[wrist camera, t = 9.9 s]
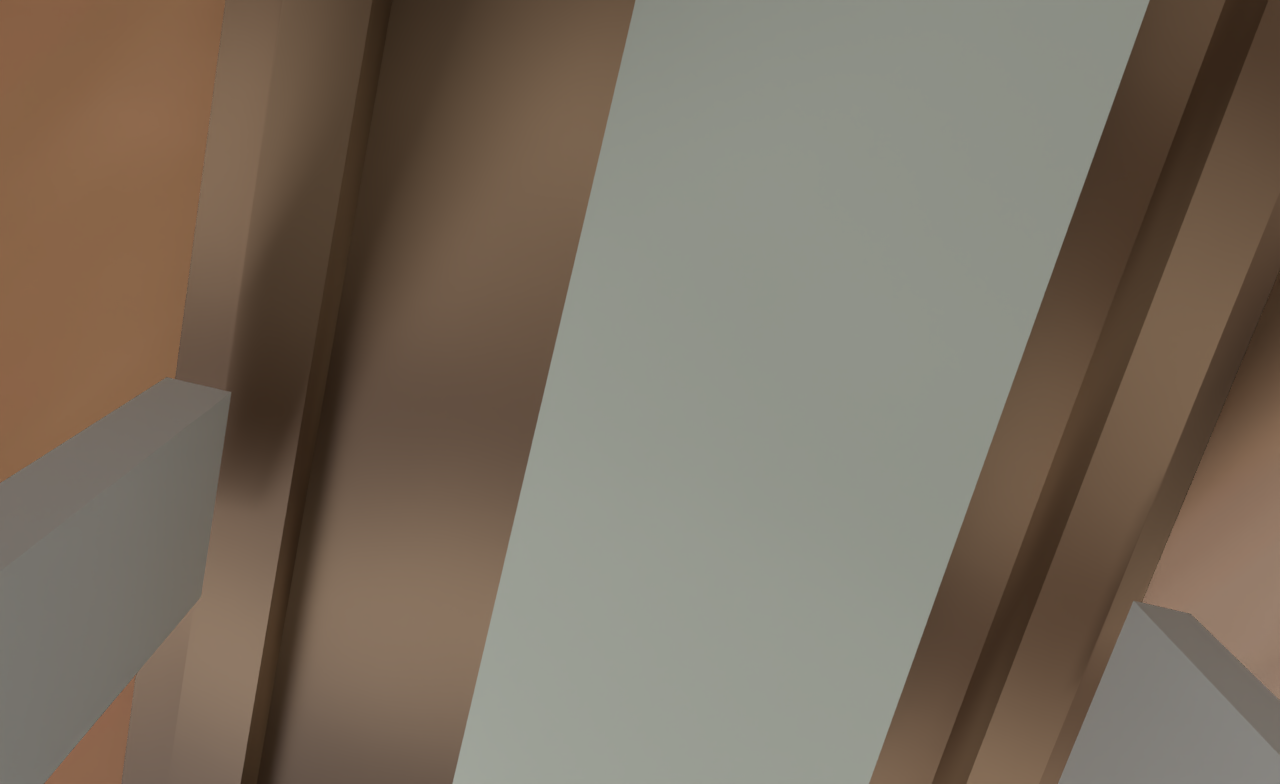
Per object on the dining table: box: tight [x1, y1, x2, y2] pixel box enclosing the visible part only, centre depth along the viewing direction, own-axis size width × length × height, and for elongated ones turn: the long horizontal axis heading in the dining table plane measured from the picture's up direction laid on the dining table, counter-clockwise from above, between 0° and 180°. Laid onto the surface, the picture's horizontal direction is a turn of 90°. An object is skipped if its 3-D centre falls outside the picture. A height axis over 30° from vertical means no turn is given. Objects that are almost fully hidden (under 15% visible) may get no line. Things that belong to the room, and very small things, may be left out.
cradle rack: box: [122, 0, 1280, 784], centre depth 14 cm, size 24×14×4 cm, turn 166°
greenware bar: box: [453, 0, 1150, 784], centre depth 13 cm, size 4×16×5 cm, turn 166°
